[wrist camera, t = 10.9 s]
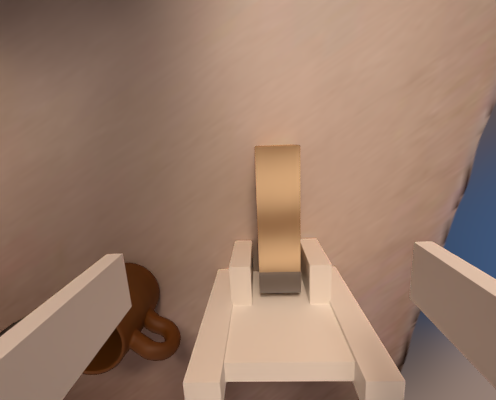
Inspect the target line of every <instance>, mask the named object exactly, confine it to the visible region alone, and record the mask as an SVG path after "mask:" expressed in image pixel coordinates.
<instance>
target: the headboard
mask: <svg viewBox="0 0 496 400" xmlns="http://www.w3.org/2000/svg"><path fill="white" fill-rule="evenodd" d="M300 272H301V292H300V293H260V282H259V271H253V251H252V240H239V241H235V243H234V248H233V252H232V256H231V261H230V265H229V269H218V272H217V275H216V278H215V281H214V285H213V288H212V291H211V294H210V297H209V301H208V304H207V307H206V310H205V313H204V317H203V320H202V323H201V326H200V329H199V333H198V336H197V339H196V342H195V345H194V349H193V352H192V355H191V358H190V361H189V365H188V368H187V371H186V374H185V378H184V381H183V388H184V397H185V400H224V396H225V389H226V382H272V381H352V382H353V385H354V387H355V390H356V392H357V395H358V398H359V400H404V391H405V380H404V378H403V376H402V375H401V373H400V372H399V370H398V368H397V367H396V365H395V363H394V362H393V360H392V359H391V357H390V355H389V354H388V352H387V350H386V349H385V347H384V345H383V344H382V342H381V341H380V339H379V337H378V336H377V334H376V332H375V331H374V329H373V328H372V326H371V324H370V323H369V321H368V319H367V318H366V316H365V314H364V313H363V311H362V310H361V308H360V306H359V305H358V303H357V301H356V300H355V298H354V297H353V295H352V293H351V292H350V290H349V288H348V287H347V285H346V283H345V282H344V280H343V279H342V277H341V275H340V274H339V272H338V270H337V269H336V267H335V266H332V264H331V262H330V261H329V259H328V257H327V256H326V254H325V252H324V251H323V249H322V247H321V246H320V244H319V242H318V241H317V239H316V238H306V239H300Z"/></svg>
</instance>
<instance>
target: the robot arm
mask: <svg viewBox="0 0 496 400" xmlns="http://www.w3.org/2000/svg"><path fill="white" fill-rule="evenodd" d="M409 298H410V299H411V300H412V301H413V302H414V303H415V304H416V306H417V307H418V308H419V309H420V310H421V311H422V312H423V313H424V314H425V315H426V316H427V317H428V318H429V319H430V320H431V321H432V322H433V323H434V325H435V326H436V327H437V328H438V329H439V330H440V331H441V332H442V333H443V334H444V335H445V336H446V337H447V338H448V339H449V340H450V341H451V342H452V344H453V345H454V346H455V347H456V348H457V349H458V350H459V351H460V352H461V353H462V354H463V355H464V356H465V357H466V358H467V359H468V360H469V362H470V363H471V364H472V365H473V366H474V367H475V368H476V369H477V370H478V371H479V372H480V373H481V374H482V375H483V376H484V377H485V378H486V379H487V380H488V382H489V383H490V384H491V385H492V386H493V387H494V388H495V389H496V279H494V278H493V277H491V276H489V275H488V274H486V273H484V272H483V271H480V270H479V269H478V268H476V267H474V266H472V265H470V264H469V263H467V262H466V261H464V260H462V259H461V258H459V257H457V256H456V255H454V254H452V253H450V252H449V251H447V250H445V249H444V248H442V247H441V246H439V245H437V244H436V243H434V242H432V241H429V242H414V250H413V261H412V273H411V285H410V297H409ZM131 307H132V305H131V299H130V293H129V287H128V281H127V275H126V269H125V263H124V257H123V253H122V254H106V255H105V256H104V257H102V258H101V259H100V260H98V261H97V262H96V263H95V264H93V265H92V266H91V267H89V268H88V269H87V270H86V271H84V272H83V273H82V274H80V275H79V276H78V277H76V278H75V279H74V280H73V281H71V282H70V283H69V284H67V285H66V286H65V287H64V288H62V289H61V290H60V291H58V292H57V293H56V294H55V295H53V296H52V297H51V298H49V299H48V300H47V301H46V302H44V303H43V304H42V305H40V306H39V307H38V308H37V309H35V310H34V311H33V312H31V313H30V314H29V315H28V316H26V317H24V318H22V319H21V320H19V321H17V322H15V323H13V324H11V325H10V326H9V327H7V328H6V329H5V330H3V331H2V332H1V333H0V400H63V399H64V397H65V396H66V395H67V393H68V392H69V390H70V389H71V388H72V386H73V385H74V384H75V382H76V381H77V380H78V378H79V377H80V376H81V374H82V373H83V372H84V370H85V369H86V368H87V366H88V365H89V363H90V362H91V361H92V359H93V358H94V357H95V355H96V354H97V353H98V351H99V350H100V349H101V347H102V346H103V345H104V343H105V342H106V341H107V339H108V338H109V336H110V335H111V334H112V332H113V331H114V330H115V328H116V327H117V326H118V324H119V323H120V322H121V320H122V319H123V318H124V316H125V315H126V314H127V312H128V311H129V309H130V308H131Z"/></svg>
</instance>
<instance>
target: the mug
mask: <svg viewBox="0 0 496 400" xmlns="http://www.w3.org/2000/svg"><path fill="white" fill-rule="evenodd" d="M125 269H126V275H127V281H128V287H129V293H130V299H131V305H132V307H131V308H130V309H129V311H128V312H127V314H126V315H125V316H124V318H123V319H122V320H121V322H120V323H119V324H118V326H117V327H116V328H115V330H114V331H113V332H112V334H111V335H110V336H109V338H108V339H107V341H106V342H105V343H104V345H103V346H102V347H101V349H100V350H99V351H98V353H97V354H96V355H95V357H94V358H93V359H92V361H91V362H90V363H89V365H88V366H87V368H86V369H85V370H84V372H83V373H82V374H86V375H97V374H102V373H105V372H108V371H110V370H111V369H113V368H114V367H116V366H117V365H118V364H119V363H120V361H121V360H122V358H123V357H124V356H125V354H126V353H127V352H128V351H129V349H131V350H133V351H134V352H136V353H137V354H138V355H140V356H141V357H143V358H145V359H147V360H154V361H158V360H165V359H167V358H169V357H171V356H172V355H173V354H174V353H175V352H176V351H177V349H178V347H179V345H180V340H181V336H180V332H179V329H178V327H177V326H176V325H175V324H174V323H173V322H172V321H170V320H169V319H166V318H164V317H161V316H159V315H158V314H157V313H156V312H155V311H154V309H155V307H156V305H157V303H158V299H159V286H158V283H157V281H156V279H155V277H154V276H153V275H152V273H151V272H150V271H148V270H147V269H146V268H144V267H142V266H140V265H138V264H134V263H125ZM143 327H145V328H146V329H148V330H149V331H151V332H153V333H156V334H159V335H161V336H163V337H164V339H165V342H161V343H160V342H155V341H153V340H152V339H150V338H149V337H147V336H146V335H144V334H142V333H141V330H142V329H143Z"/></svg>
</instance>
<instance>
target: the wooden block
mask: <svg viewBox="0 0 496 400" xmlns="http://www.w3.org/2000/svg"><path fill="white" fill-rule="evenodd" d="M255 172H256V199H257V226H258V253H259V282H260V293H300V292H301V272H300V145H271V146H255Z"/></svg>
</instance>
